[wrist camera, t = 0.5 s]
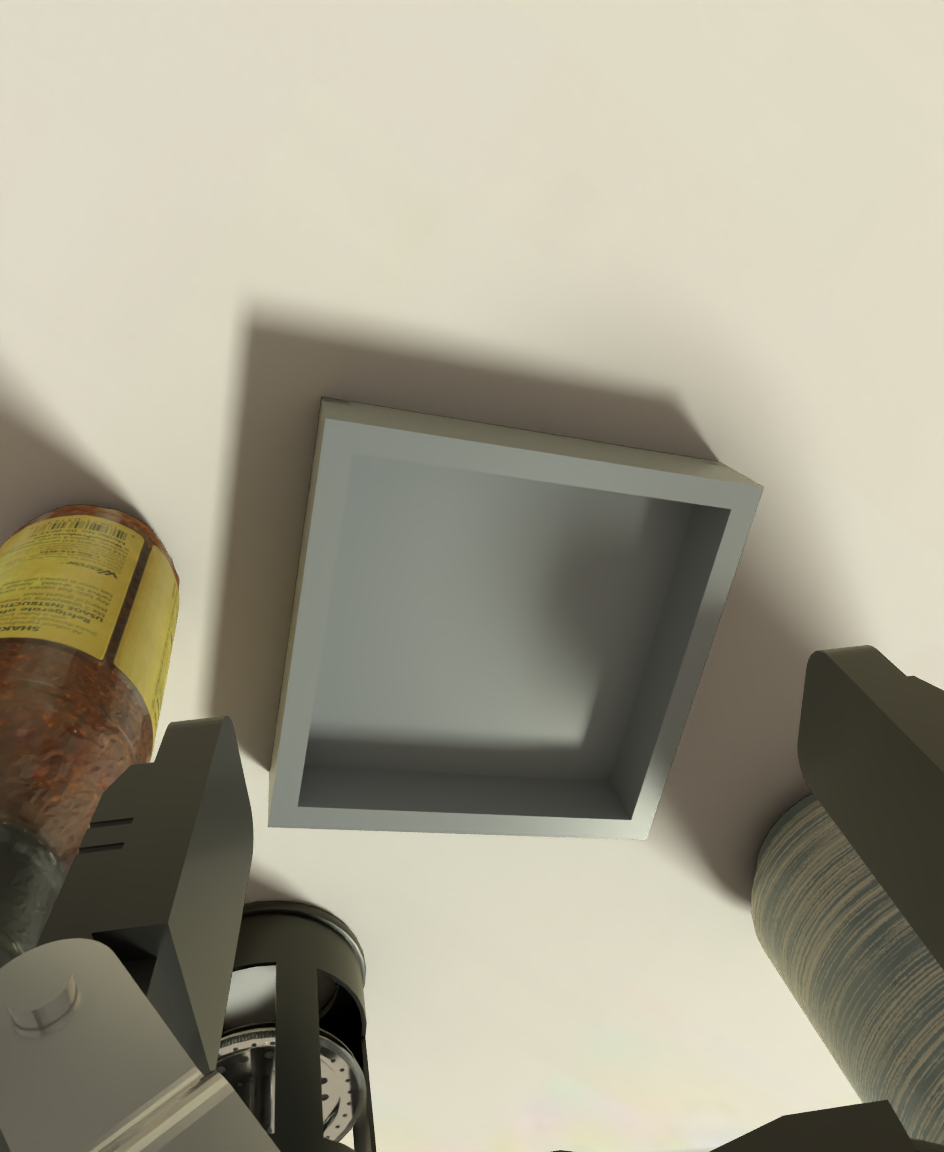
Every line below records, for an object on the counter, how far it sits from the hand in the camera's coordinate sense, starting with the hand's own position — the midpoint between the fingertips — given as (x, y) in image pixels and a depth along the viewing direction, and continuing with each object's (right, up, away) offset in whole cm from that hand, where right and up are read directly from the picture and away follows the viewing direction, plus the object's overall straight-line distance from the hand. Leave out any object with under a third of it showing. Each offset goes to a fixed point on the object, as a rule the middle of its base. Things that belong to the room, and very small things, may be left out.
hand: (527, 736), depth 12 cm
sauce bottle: (-14, +2, +20) cm, 25 cm away
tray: (0, 0, +23) cm, 23 cm away
